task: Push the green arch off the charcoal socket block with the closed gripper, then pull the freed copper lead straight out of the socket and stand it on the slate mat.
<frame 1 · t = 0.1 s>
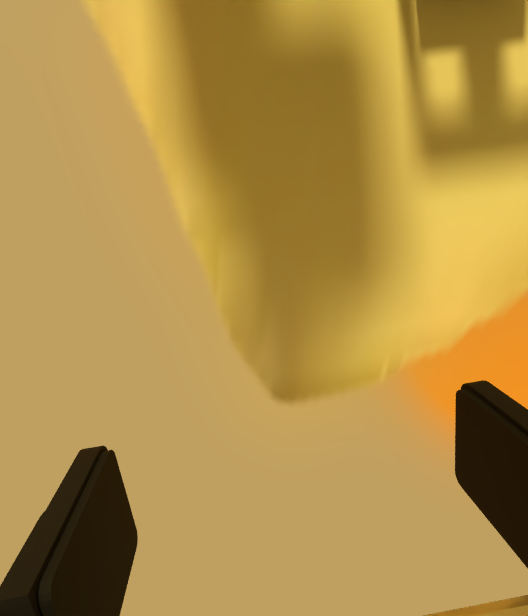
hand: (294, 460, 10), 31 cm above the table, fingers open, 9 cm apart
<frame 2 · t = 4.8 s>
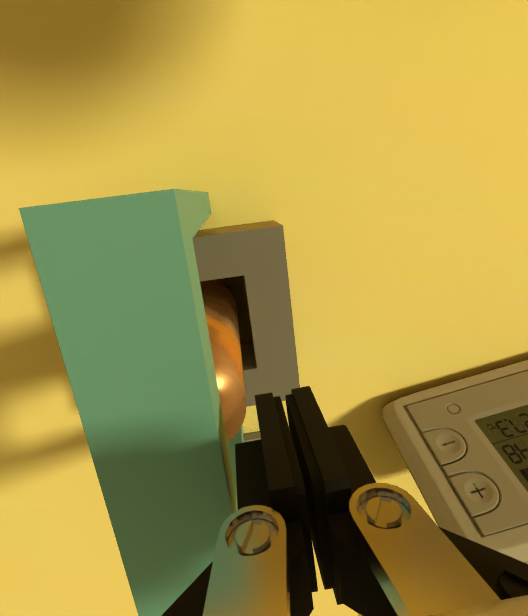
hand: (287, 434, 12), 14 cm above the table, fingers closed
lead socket: (205, 309, 25), on the table
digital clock: (481, 397, 29), on the table
copper lead: (199, 344, 19), in the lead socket
green arch: (192, 362, 17), point 8 cm above the table, slide at 0.2 cm, touching gripper
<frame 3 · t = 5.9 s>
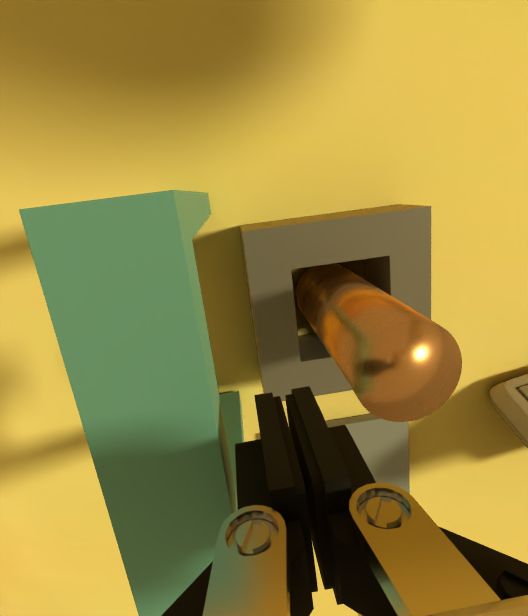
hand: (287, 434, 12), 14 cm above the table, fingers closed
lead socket: (326, 292, 25), on the table
copper lead: (355, 321, 20), in the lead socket
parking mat: (340, 471, 30), on the table
green arch: (192, 363, 17), point 8 cm above the table, slide at 8.1 cm, touching gripper
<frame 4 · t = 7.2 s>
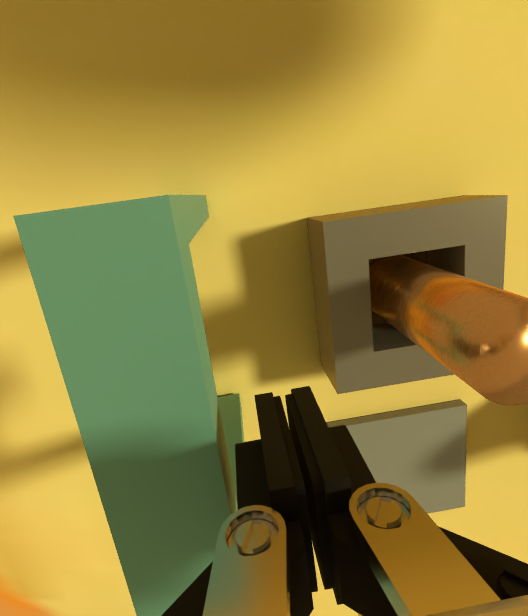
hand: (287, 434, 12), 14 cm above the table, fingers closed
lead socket: (389, 284, 26), on the table
copper lead: (436, 309, 20), in the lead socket
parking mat: (396, 462, 30), on the table
green arch: (191, 366, 17), point 8 cm above the table, slide at 12.4 cm, touching gripper
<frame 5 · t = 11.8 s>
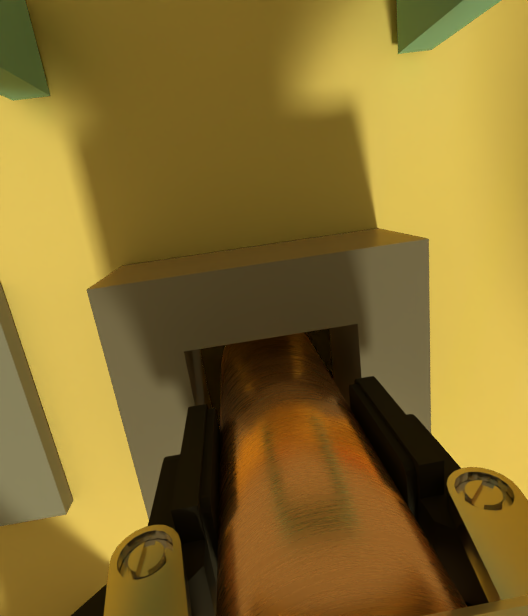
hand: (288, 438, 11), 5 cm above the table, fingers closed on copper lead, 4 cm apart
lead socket: (268, 364, 17), on the table
copper lead: (292, 452, 11), in the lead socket, touching gripper
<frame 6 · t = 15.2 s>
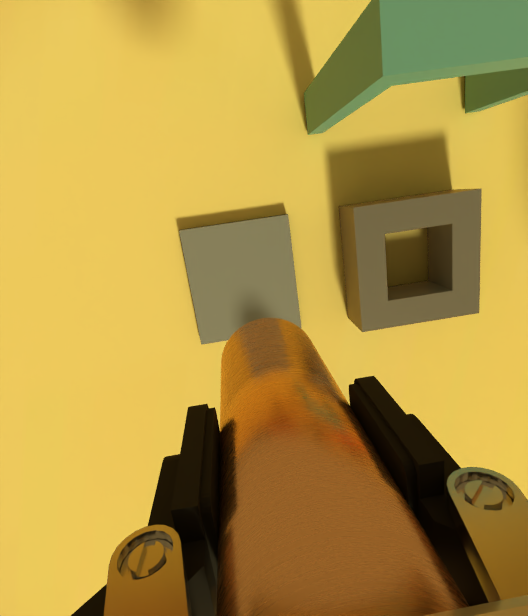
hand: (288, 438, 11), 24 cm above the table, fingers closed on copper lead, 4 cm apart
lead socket: (398, 255, 35), on the table
copper lead: (292, 451, 11), point 24 cm above the table, touching gripper
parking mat: (242, 279, 34), on the table
green arch: (446, 71, 23), point 8 cm above the table, slide at 12.4 cm
when the fingers open (8 cm above the table, at t = 18.6 s): copper lead drops 2 cm, resting on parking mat.
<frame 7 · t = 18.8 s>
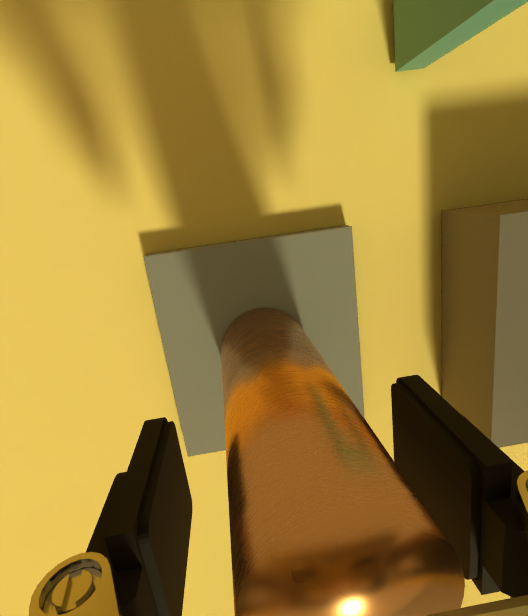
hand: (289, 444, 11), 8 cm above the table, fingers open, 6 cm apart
copper lead: (288, 419, 12), on the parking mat, point 7 cm above the table
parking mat: (262, 342, 19), on the table
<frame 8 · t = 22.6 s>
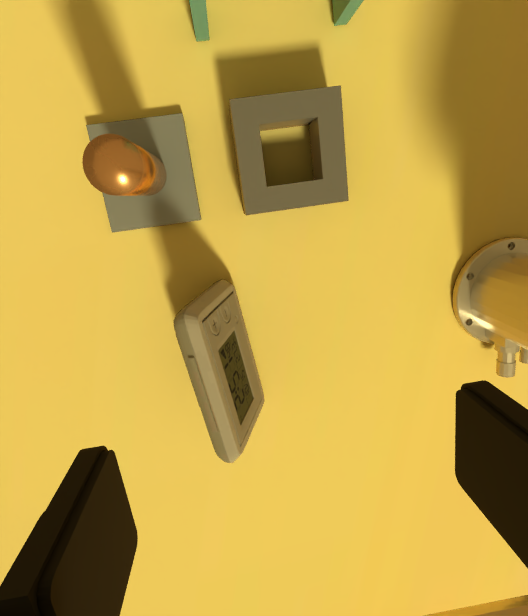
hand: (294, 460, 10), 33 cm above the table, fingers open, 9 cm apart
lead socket: (285, 156, 40), on the table
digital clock: (225, 346, 45), on the table
copper lead: (132, 170, 33), on the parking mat, point 7 cm above the table
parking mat: (147, 175, 39), on the table
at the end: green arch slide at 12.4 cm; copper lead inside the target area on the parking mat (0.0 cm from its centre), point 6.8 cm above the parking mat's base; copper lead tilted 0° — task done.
